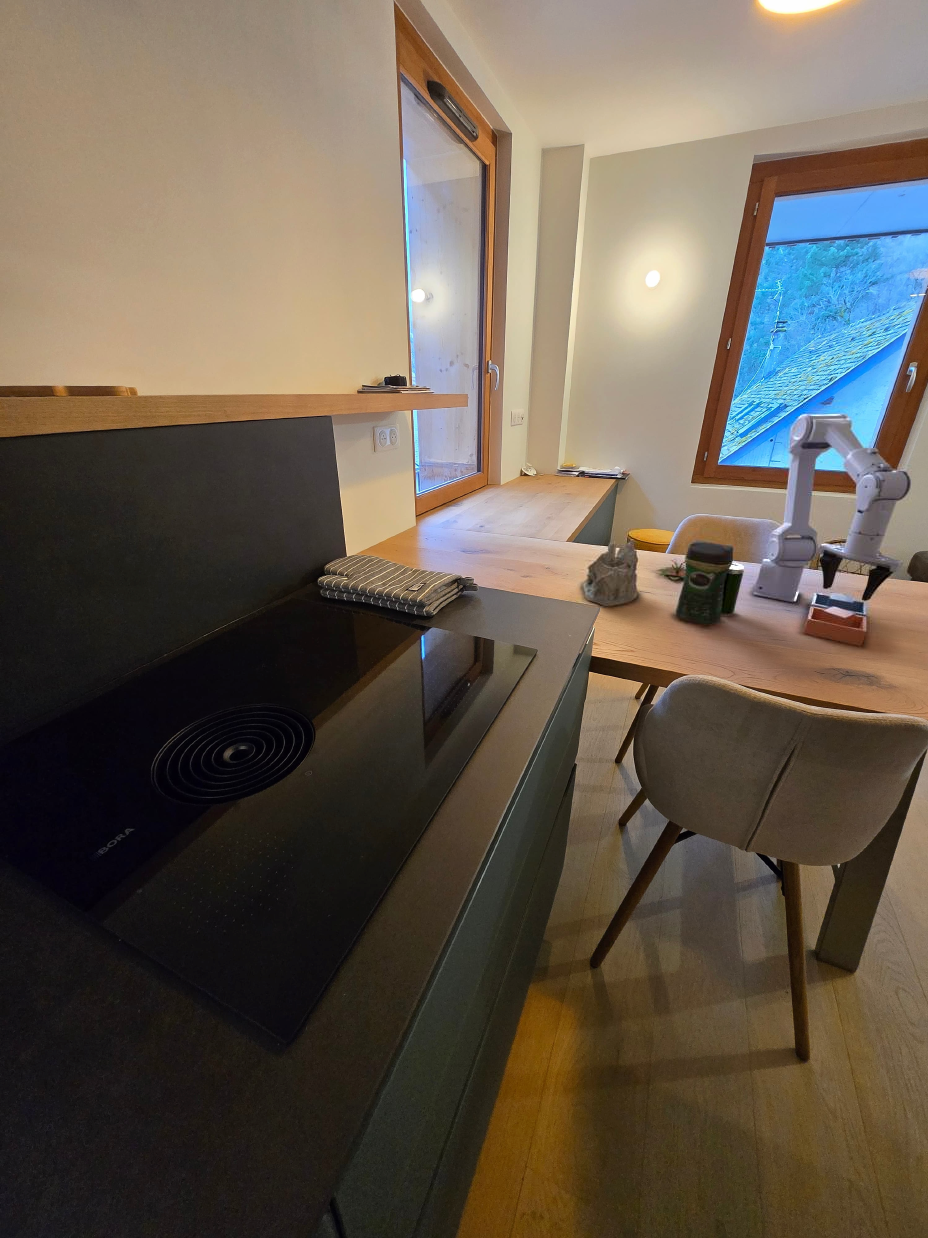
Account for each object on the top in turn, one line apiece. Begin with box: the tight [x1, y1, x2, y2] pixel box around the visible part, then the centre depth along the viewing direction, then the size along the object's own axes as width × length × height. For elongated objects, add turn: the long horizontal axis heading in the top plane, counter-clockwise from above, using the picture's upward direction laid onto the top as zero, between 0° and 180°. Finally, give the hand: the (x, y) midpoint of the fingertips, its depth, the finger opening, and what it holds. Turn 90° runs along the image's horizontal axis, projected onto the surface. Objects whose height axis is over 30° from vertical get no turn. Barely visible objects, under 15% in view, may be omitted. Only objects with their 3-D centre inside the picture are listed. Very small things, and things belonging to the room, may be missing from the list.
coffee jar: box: [675, 540, 734, 626], centre depth 114 cm, size 10×8×19 cm
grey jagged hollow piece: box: [582, 538, 639, 607], centre depth 130 cm, size 16×16×15 cm
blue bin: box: [807, 592, 868, 617], centre depth 117 cm, size 10×9×4 cm
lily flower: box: [655, 558, 686, 581], centre depth 143 cm, size 12×12×5 cm
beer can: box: [720, 562, 744, 617], centre depth 118 cm, size 5×5×12 cm
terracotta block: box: [820, 606, 856, 627], centre depth 109 cm, size 4×4×4 cm
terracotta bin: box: [803, 605, 868, 647], centre depth 109 cm, size 10×9×4 cm
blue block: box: [826, 591, 855, 611], centre depth 116 cm, size 4×4×4 cm
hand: (845, 593), depth 106 cm, fingers open, 7 cm apart
